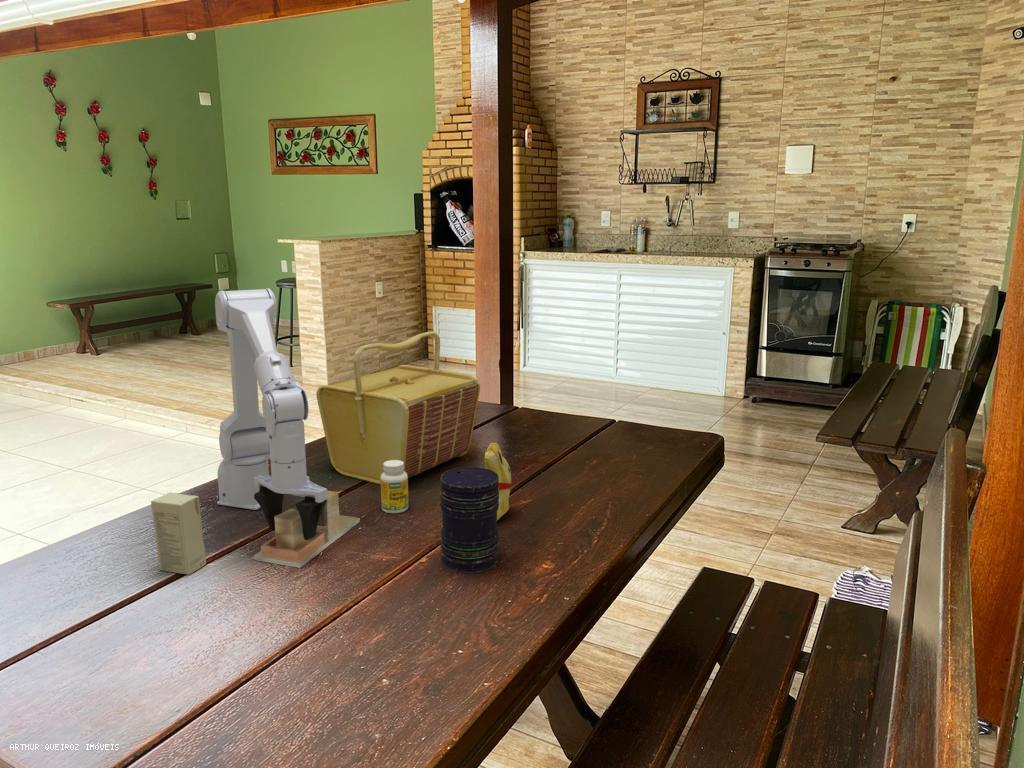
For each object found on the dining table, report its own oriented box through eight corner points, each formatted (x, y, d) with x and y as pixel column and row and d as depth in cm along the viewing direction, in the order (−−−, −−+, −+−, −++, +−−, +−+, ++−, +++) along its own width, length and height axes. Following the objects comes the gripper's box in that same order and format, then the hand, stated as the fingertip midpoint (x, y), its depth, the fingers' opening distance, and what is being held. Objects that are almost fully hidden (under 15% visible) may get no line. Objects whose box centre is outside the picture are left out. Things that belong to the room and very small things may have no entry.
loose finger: (276, 549, 131) (274, 516, 129) (295, 539, 135) (293, 507, 133) (294, 554, 129) (292, 521, 127) (312, 543, 133) (311, 511, 131)
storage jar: (511, 560, 129) (511, 477, 126) (467, 579, 122) (467, 492, 119) (472, 542, 136) (472, 462, 133) (429, 558, 129) (427, 476, 126)
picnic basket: (405, 496, 157) (401, 354, 150) (315, 473, 170) (308, 341, 163) (483, 458, 181) (483, 334, 174) (400, 440, 194) (397, 324, 188)
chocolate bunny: (518, 508, 151) (518, 436, 148) (493, 529, 141) (493, 452, 138) (487, 503, 154) (487, 432, 151) (461, 522, 144) (460, 447, 141)
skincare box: (207, 564, 126) (201, 495, 124) (188, 576, 122) (182, 505, 120) (176, 558, 128) (169, 490, 126) (157, 569, 124) (149, 499, 122)
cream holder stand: (253, 559, 128) (251, 522, 127) (318, 515, 147) (316, 482, 145) (300, 567, 126) (297, 529, 124) (359, 521, 144) (358, 488, 143)
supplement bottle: (401, 501, 154) (400, 456, 152) (413, 510, 150) (412, 464, 148) (376, 507, 151) (375, 461, 149) (388, 516, 147) (386, 469, 145)
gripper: (337, 458, 128) (341, 532, 131) (272, 445, 134) (277, 517, 137) (309, 470, 122) (313, 548, 125) (242, 456, 128) (248, 531, 131)
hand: (292, 533), depth 131 cm, fingers open, 7 cm apart
